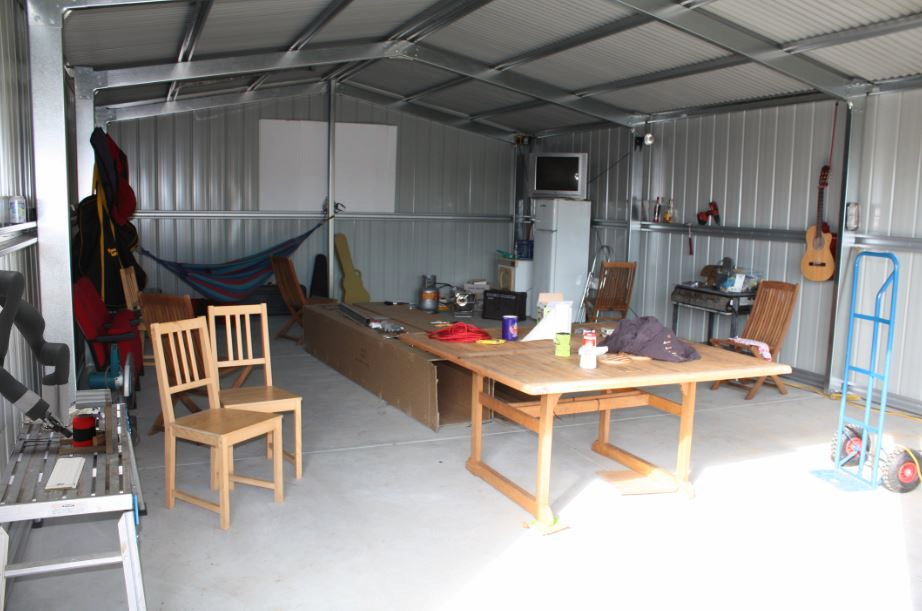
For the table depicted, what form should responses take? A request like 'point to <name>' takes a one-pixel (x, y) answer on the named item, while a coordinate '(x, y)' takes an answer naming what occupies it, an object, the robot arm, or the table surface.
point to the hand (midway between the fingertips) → (70, 436)
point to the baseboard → (65, 474)
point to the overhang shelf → (102, 437)
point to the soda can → (83, 430)
